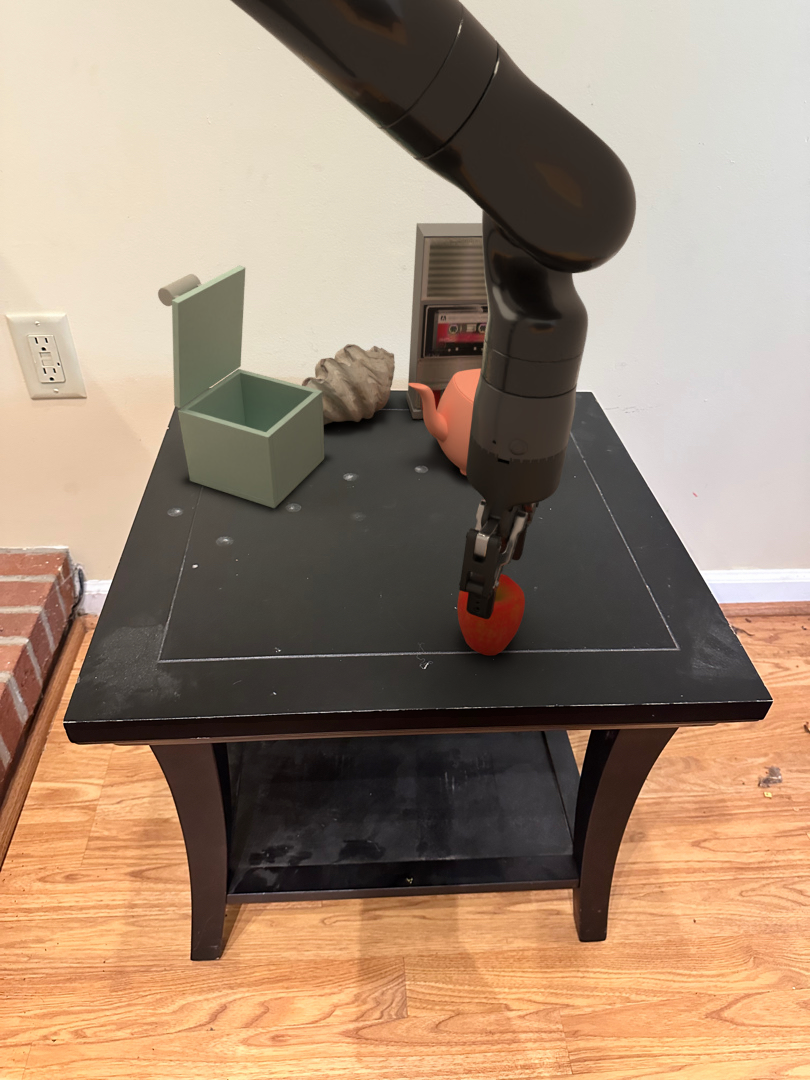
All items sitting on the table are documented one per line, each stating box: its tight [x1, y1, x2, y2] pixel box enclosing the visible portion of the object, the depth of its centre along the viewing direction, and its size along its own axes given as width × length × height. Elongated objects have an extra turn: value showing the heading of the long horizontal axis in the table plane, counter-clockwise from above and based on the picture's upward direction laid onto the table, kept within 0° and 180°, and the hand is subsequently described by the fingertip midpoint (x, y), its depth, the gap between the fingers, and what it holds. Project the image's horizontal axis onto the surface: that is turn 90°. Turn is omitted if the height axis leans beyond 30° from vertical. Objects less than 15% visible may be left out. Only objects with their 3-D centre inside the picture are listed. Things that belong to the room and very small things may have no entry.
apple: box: [457, 573, 526, 657], centre depth 68 cm, size 6×6×8 cm
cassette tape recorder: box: [405, 222, 488, 420], centre depth 98 cm, size 14×6×25 cm, turn 99°
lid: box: [157, 265, 246, 409], centre depth 83 cm, size 13×12×5 cm
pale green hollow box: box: [177, 368, 325, 509], centre depth 89 cm, size 12×12×10 cm
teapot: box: [407, 369, 481, 476], centre depth 93 cm, size 13×20×12 cm, turn 106°
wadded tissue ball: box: [301, 343, 396, 426], centre depth 100 cm, size 10×15×10 cm
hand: (494, 583), depth 66 cm, fingers open, 8 cm apart
